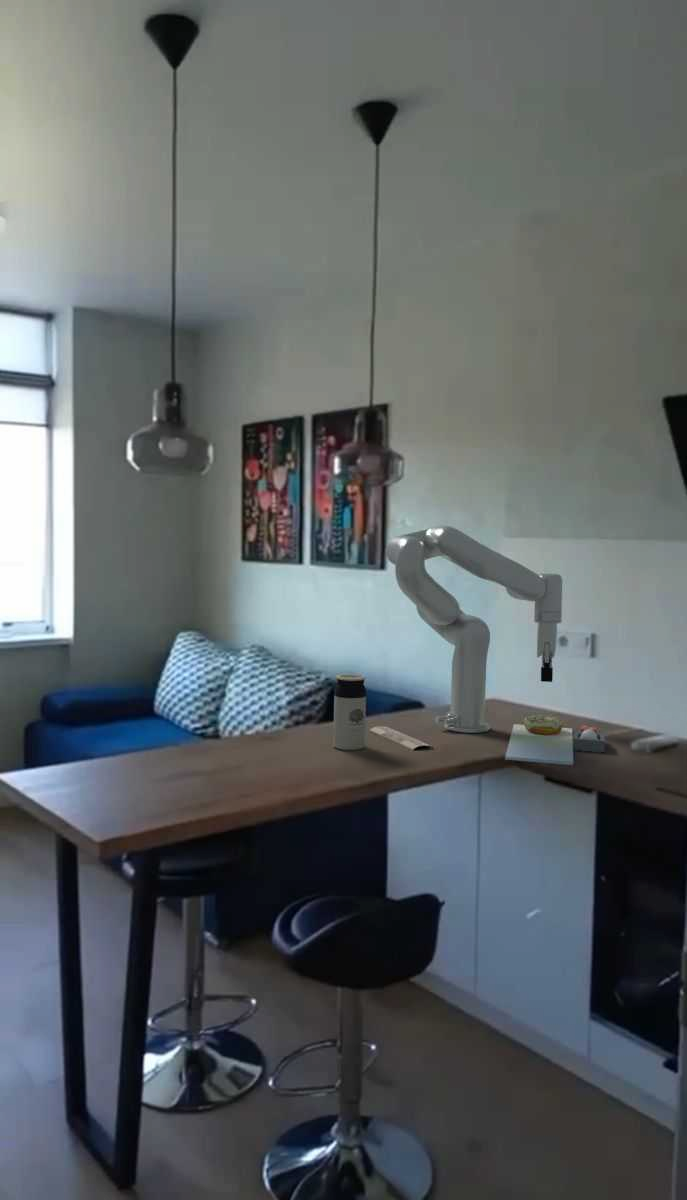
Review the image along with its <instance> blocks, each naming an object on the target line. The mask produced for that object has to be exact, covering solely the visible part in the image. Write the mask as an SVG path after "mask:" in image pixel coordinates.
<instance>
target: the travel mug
mask: <svg viewBox="0 0 687 1200" xmlns="http://www.w3.org/2000/svg"><path fill="white" fill-rule="evenodd" d="M366 678H367V677H366V676H365V675H362V674H356V673H355V674H353V673H349V674H348V673H347V674H345V673H343V674H337V675H335V679H336V683H337V684H336V686H335V687H334V697H333V698H334V699H333V702H334V703H333V739H332V740H333V741H332V744H333V747H334V748H335V749H337V750H340V751H358V750H362V749H364V748H365V747H366V743H365V742H366V715H367V714H366V711H367V689H366V687H365V685H364V684H365V680H366Z"/></svg>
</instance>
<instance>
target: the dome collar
mask: <svg viewBox="0 0 687 1200" xmlns="http://www.w3.org/2000/svg"><path fill="white" fill-rule="evenodd" d="M581 734H582V733H580V732H573V735H572V740H573V751H576V750H582V751H581V752H588V751H592V753H601V752H604V753H605V746H606V740H605V735H604V734H600V733H599V734H597V733H596V735H597V738H598V740H595V739H582V738H580V737H581Z"/></svg>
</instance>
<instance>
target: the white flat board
mask: <svg viewBox="0 0 687 1200" xmlns="http://www.w3.org/2000/svg"><path fill="white" fill-rule="evenodd" d="M504 760H506V761H515V762H516V761H518V762H531V763H541V764H542V763H544V764H554V765H555V764H556V765H565V766H566V765H567V766H574V750H573V728H569V727H562V730H561V731H560V732H559V733H557V734H547V735H545V734H538V733H532V732H530V731H528V730H527V729H526V728H525V726H524V724H518V723H517V724H515V723H514V724H513V726H512V730H511V734H510V737H509V742H508V745H507V749H506V753H505V757H504Z"/></svg>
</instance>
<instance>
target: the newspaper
mask: <svg viewBox="0 0 687 1200" xmlns="http://www.w3.org/2000/svg"><path fill="white" fill-rule="evenodd" d="M369 731H370V732H371V733H374V734H375V735H378V736H379V737H382V738H384V739H387V740H389V741H391V742H393V743H395V744H398V745H400V746H402V747H404V748H406V749H409V750H410V751H415V749H416V748H418V747H427V748H428V749H434V746H432V745H430V744H428V743H426V742H423V741H421V740H419V739H416V738H414V737H411V736H409V735H408V734H405V733H402V732H401V731H400V732H399V731H398V730H396V729H393V728H392V727H391V728H390V727H389V726H381V725H378V726H374V727H372V728H370V729H369Z"/></svg>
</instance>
